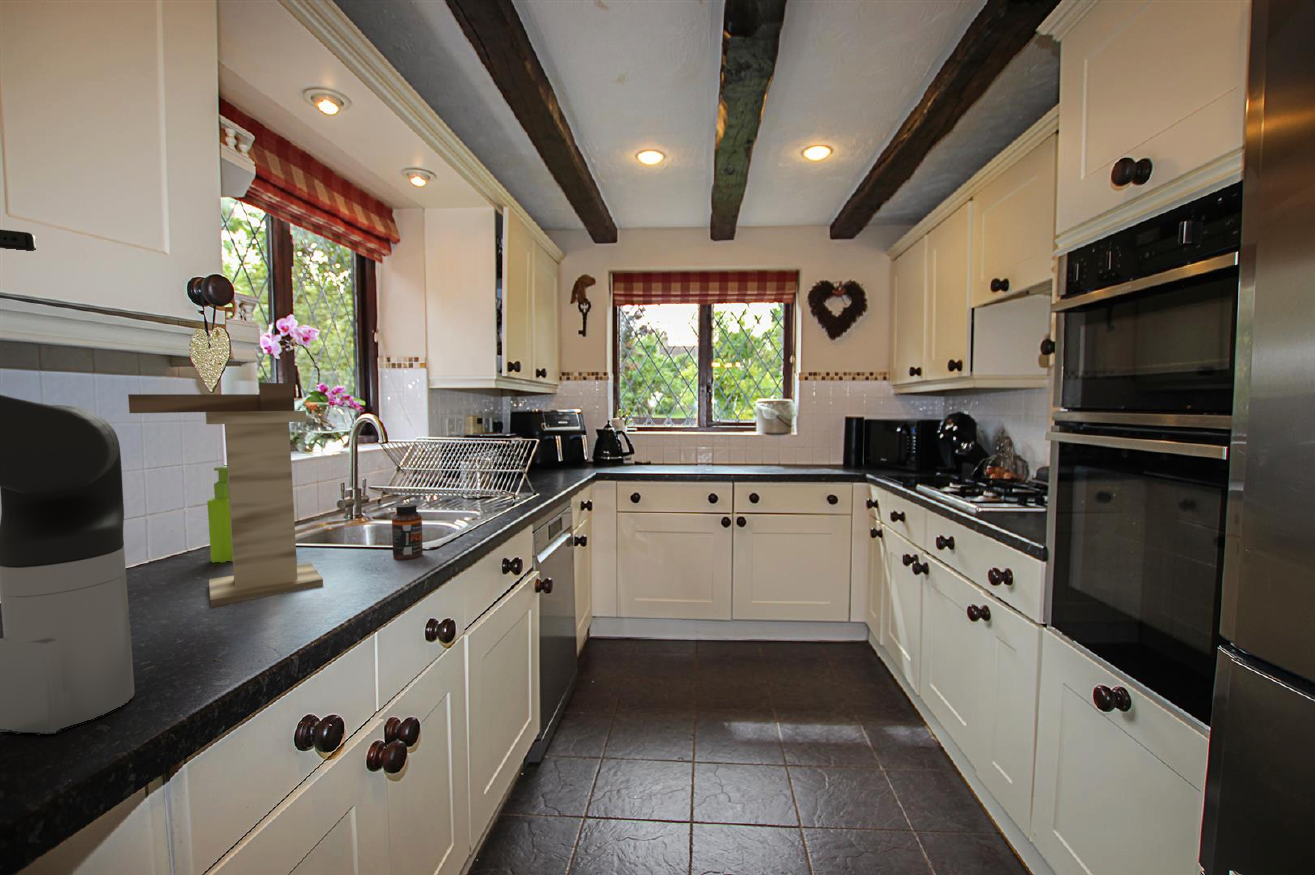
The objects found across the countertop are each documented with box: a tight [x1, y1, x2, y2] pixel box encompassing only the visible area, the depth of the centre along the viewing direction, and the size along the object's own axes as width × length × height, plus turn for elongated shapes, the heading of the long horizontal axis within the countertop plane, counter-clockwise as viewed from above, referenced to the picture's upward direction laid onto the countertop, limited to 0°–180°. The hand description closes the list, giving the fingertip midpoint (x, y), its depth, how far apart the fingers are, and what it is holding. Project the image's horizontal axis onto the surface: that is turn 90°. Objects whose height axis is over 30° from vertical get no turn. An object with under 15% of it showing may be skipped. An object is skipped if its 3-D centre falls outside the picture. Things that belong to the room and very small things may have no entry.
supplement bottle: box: [391, 503, 424, 560], centre depth 119 cm, size 6×6×11 cm
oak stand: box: [205, 409, 324, 608], centre depth 100 cm, size 14×16×32 cm
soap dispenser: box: [207, 466, 233, 563], centre depth 118 cm, size 6×7×20 cm
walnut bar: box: [127, 382, 296, 414], centre depth 95 cm, size 5×22×5 cm, turn 126°
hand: (46, 246), depth 74 cm, fingers open, 8 cm apart
